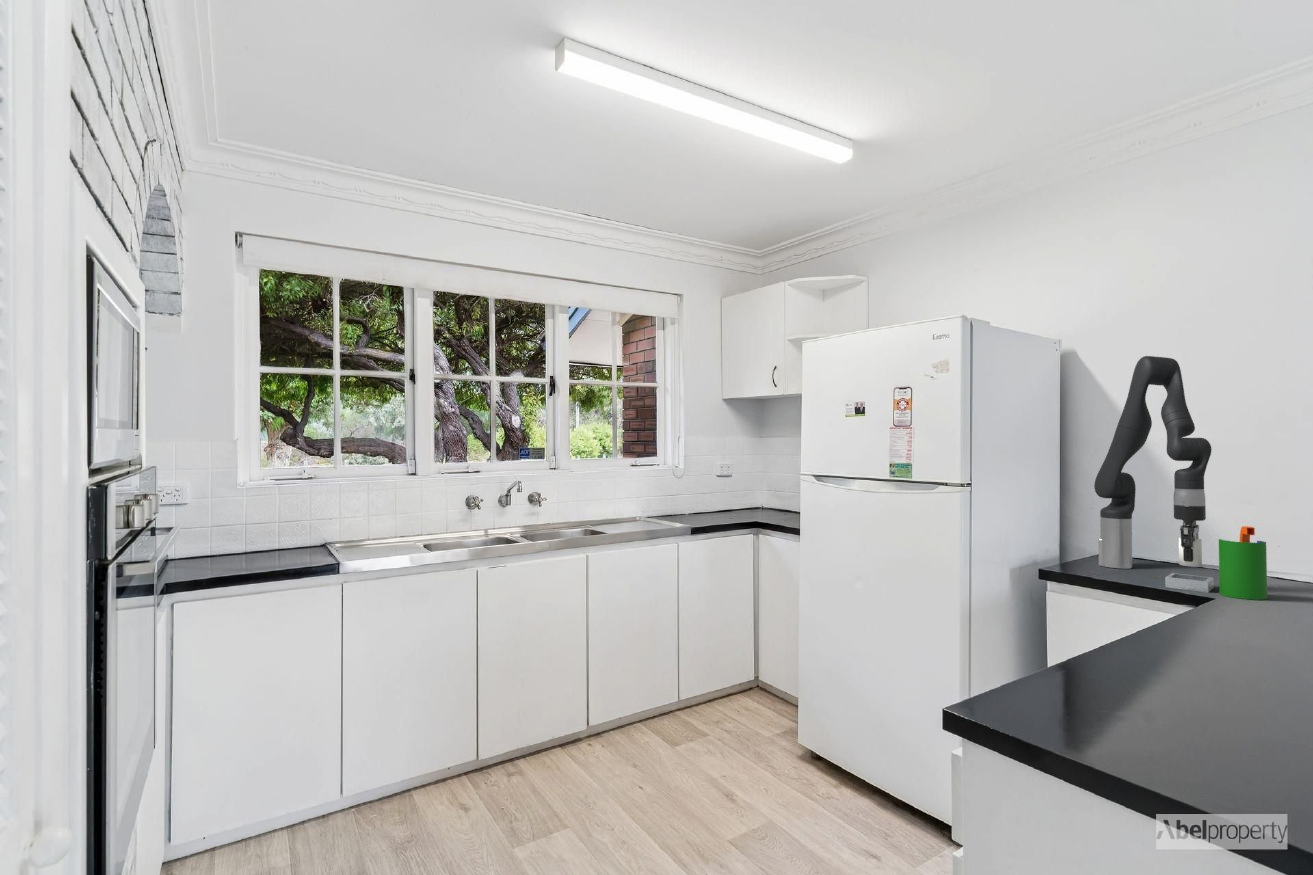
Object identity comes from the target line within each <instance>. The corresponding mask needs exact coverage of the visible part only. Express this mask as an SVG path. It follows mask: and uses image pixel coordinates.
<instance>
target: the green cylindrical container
mask: <svg viewBox="0 0 1313 875" xmlns="http://www.w3.org/2000/svg"><path fill="white" fill-rule="evenodd" d="M1255 529H1256V528H1255V527H1254V526H1248V525H1247V526H1246V525H1245V526H1243V525H1242V526H1241V528H1240V533H1239V541H1235V540H1234V541H1233V540H1232V541H1231V540H1226V539H1225V540H1224V539H1221V538H1218V570H1219V571H1218V573H1219V574H1218V575H1219V577H1218V578H1219V580H1218V581H1219V583H1218V585H1219V594H1220V595H1222V596H1225V597H1230V598H1235V599H1243V600H1254V601H1255V600H1257V601H1261V600H1264V601H1265V600H1268V572H1267V571H1268V566H1267V565H1268V564H1267V560H1268V559H1267V542H1266V541H1262V540H1257V541H1256V542H1251V536H1255V534H1256V532H1255Z"/></svg>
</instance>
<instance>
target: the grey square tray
mask: <svg viewBox="0 0 1313 875" xmlns="http://www.w3.org/2000/svg"><path fill="white" fill-rule="evenodd" d="M1164 578H1165V580H1164V583H1165V586H1164V587H1165V588H1169V589H1177V590H1185V591H1193V592H1201V593H1209V592H1211V591H1212V590H1213V589H1214V587H1215V586H1214V585H1215V583H1214V582H1215V581H1214V577H1211V576H1201V575H1193V574H1185V573H1177V572H1171V573H1170V574H1168V575H1166V576H1165V577H1164Z"/></svg>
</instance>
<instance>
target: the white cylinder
mask: <svg viewBox="0 0 1313 875" xmlns="http://www.w3.org/2000/svg"><path fill="white" fill-rule="evenodd" d="M1202 541H1203V540H1202V538H1199V539H1198V538H1196V542H1194V545H1193V546H1194V548H1193V561H1192V562H1187V561H1184V560H1183V549H1184V548H1182V547H1181V536H1180V537H1178V565H1180V566H1183V567H1184V566H1185V567H1192V568H1193V567H1195V568H1199V567H1200V568H1201V567H1203V555H1202V554H1203V552H1202V551H1203V550H1202V549H1203V548H1202V546H1203V545H1202ZM1185 543H1189V541H1185Z"/></svg>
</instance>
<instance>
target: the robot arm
mask: <svg viewBox="0 0 1313 875" xmlns="http://www.w3.org/2000/svg"><path fill="white" fill-rule="evenodd" d="M1179 364H1180V363H1179V362H1178V361H1177V360H1176V359H1175V358H1171V357H1167V356H1165V357H1164V356H1154V355H1153V356H1152V355H1145V356H1142V357H1141V358H1139V359H1138V361H1137V362H1136V365H1135V366H1134V370H1133V372H1132V377H1131V380H1130V385H1129V389H1128V394H1127V398H1126V401H1125V404H1124V406H1123V409H1122V413H1121V415H1120V418H1119V420H1118V423H1117V426H1116V428H1115V432H1114V435H1113V438H1112V442H1111V443H1110V446H1109V449H1108V452H1107V454H1106V456H1105V458H1104V460H1103V463H1102V464H1101V466H1100V468H1099V471H1098V472H1097V475H1096V477H1095V480H1094V486H1093V488H1094V492H1095V494H1096V495H1097V496H1098V497H1099V498H1102V499H1111V501H1110V503H1109V504H1108V505H1107V506H1104V507H1102V508H1101V509H1100V510H1099V512H1100V513H1099V518H1100V520H1099V522H1100V525H1099V527H1100V530H1099V532H1100V533H1099V534H1100V538H1098V566H1101V567H1104V568H1105V567H1106V568H1114V569H1124V570H1126V569H1132V568H1133V513H1134V511H1135V508H1136V506H1135V504H1136V482H1135V478H1134V477H1133V476H1132V475H1131V474H1130V473H1129V472H1122V471H1123V468H1124V467H1125V465H1126V464H1127V463H1128V461H1130V459H1131V458H1133V456H1135V454H1136V453H1138V452H1139V451H1140V450H1141V449H1142V448H1143V446H1144V445H1145V443H1146V442H1147V440H1148V437H1149V435H1150V432H1151V430H1152V425H1153V423H1152V422H1153V421H1152V417H1151V414H1150V411H1149V408H1148V405H1147V401H1146V398H1147V397H1146V396H1147V392H1148V387H1149V386H1150V385H1151V386H1162V387H1163V388H1164V389H1165V391H1166V394H1167V395H1166V398H1165V400H1164V401H1163V405H1162V406H1161V408H1160V409H1161V410H1160V415H1161V416H1160V417H1161V419H1162V422H1163V425H1164V428H1165V431H1166V454H1167V456H1168V457H1169V458H1170V459H1172V460H1173V461H1175V462H1191V464H1190V465H1189V467H1186V468H1180V469H1177V470H1175V472H1174V477H1173V478H1174V492H1173V519H1175V520H1179V521H1182V525H1180V527H1179V530H1180V537H1181V547H1182V548H1184V549H1183V560H1184V561H1187V562H1192V561H1193V548H1194V546H1193V545H1194V542H1196V538H1198V539H1200V535H1199V532H1200V525H1199V524H1197V522H1203V521H1206V518H1207V517H1206V516H1207V514H1206V510H1207V509H1206V493H1205V474H1206V471H1207V466H1208V464H1209V460H1210V458H1211V455H1212V450H1213V448H1212V444H1211V443H1210V442H1209V440H1208V439H1206V438H1204V437H1188V436H1191V435H1192V434H1193V433H1194V432H1195V431H1196V427H1195V423H1194V421H1193V419H1192V416H1191V413H1190V410H1189V409H1188V405H1187V402H1186V397H1185V395H1186V394H1185V390H1184V388H1185V387H1184V383H1183V382H1184V381H1183V376H1182V371H1181V367H1180V365H1179ZM1185 541H1189V543H1185Z"/></svg>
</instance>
